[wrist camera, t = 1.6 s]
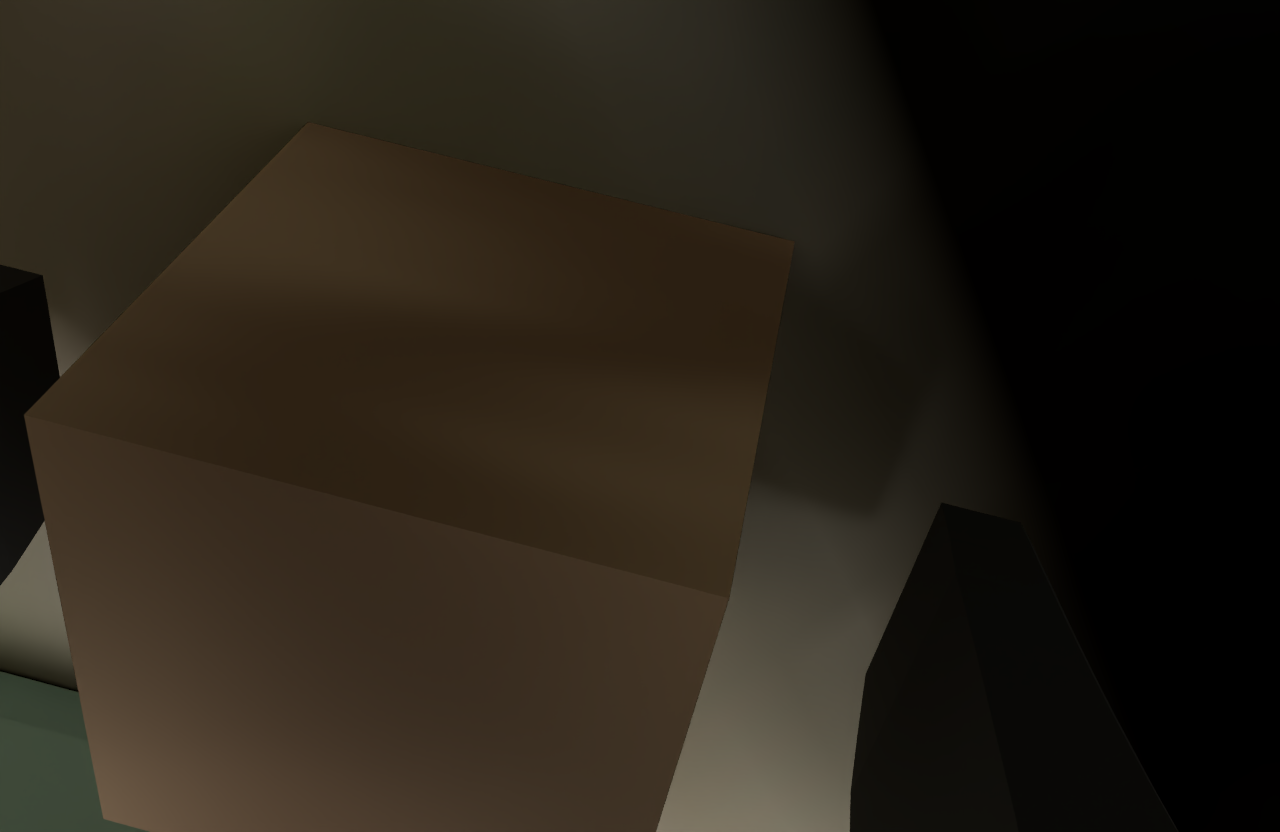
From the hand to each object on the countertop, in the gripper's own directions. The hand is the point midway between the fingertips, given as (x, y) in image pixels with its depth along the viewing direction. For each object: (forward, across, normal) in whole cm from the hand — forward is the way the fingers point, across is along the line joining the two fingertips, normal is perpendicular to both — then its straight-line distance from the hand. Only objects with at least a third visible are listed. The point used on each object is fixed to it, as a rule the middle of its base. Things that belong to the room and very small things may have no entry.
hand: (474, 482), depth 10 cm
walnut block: (+2, 0, 0) cm, 2 cm away
